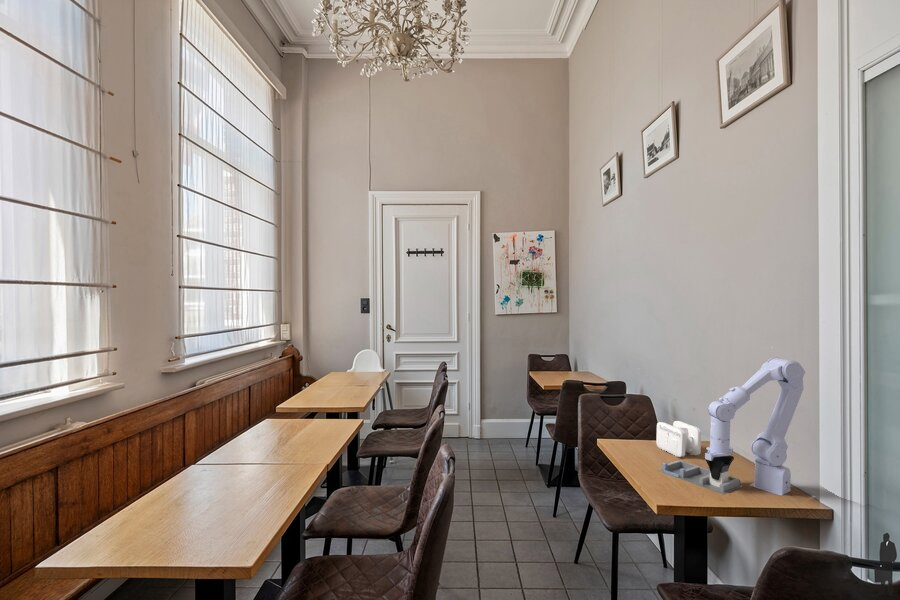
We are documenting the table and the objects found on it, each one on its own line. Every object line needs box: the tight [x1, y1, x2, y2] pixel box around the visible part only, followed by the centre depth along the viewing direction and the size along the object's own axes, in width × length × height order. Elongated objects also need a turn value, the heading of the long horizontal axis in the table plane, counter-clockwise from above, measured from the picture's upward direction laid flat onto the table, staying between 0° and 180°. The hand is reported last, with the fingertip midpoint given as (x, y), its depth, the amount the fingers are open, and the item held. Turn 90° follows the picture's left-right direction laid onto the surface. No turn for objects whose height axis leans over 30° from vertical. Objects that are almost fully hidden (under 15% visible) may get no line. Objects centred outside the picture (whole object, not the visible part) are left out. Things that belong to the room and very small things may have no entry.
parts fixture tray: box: [657, 459, 744, 495], centre depth 160 cm, size 23×13×3 cm, turn 33°
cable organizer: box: [656, 420, 702, 458], centre depth 188 cm, size 15×11×12 cm
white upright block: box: [710, 464, 729, 487], centre depth 154 cm, size 4×4×7 cm
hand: (718, 477), depth 154 cm, fingers closed on white upright block, 4 cm apart
